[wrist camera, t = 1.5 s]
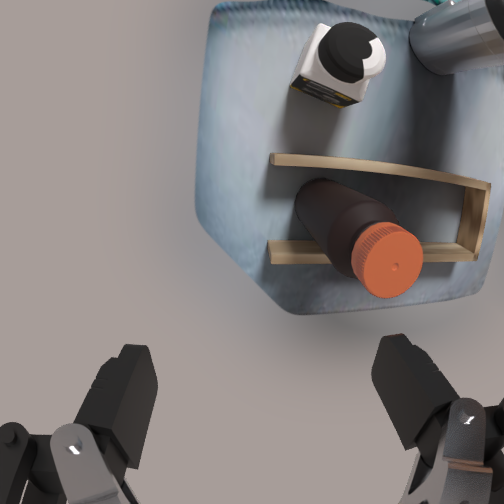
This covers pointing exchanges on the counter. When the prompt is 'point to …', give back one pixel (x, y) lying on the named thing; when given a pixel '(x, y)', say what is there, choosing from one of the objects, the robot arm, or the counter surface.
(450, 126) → the counter surface
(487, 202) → the u rest
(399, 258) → the vinegar
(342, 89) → the medicine bottle
